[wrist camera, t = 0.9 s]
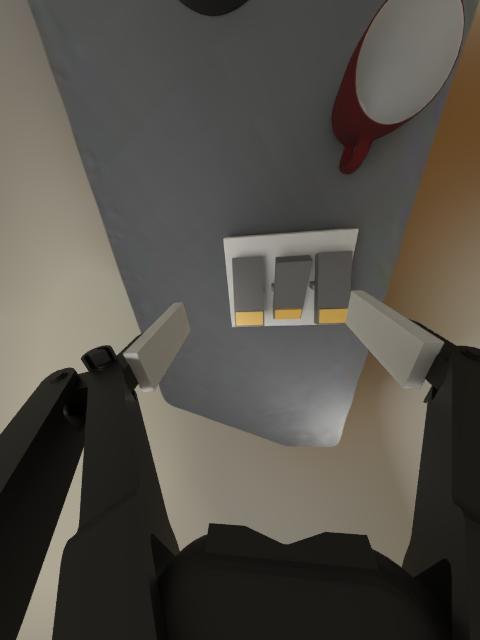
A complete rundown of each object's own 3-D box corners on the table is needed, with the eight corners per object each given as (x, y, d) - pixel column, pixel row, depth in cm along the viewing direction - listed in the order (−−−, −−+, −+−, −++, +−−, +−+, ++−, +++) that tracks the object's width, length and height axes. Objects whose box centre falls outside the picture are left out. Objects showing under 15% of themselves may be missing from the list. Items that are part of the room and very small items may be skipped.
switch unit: (227, 236, 31) (221, 239, 25) (343, 228, 29) (366, 228, 23) (234, 316, 38) (231, 333, 32) (328, 313, 36) (343, 331, 30)
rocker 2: (275, 257, 24) (276, 264, 23) (309, 254, 24) (313, 262, 22) (272, 312, 31) (273, 320, 30) (298, 311, 31) (301, 319, 29)
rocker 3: (315, 254, 26) (319, 252, 24) (346, 252, 26) (354, 250, 24) (313, 322, 28) (317, 324, 26) (343, 321, 27) (350, 324, 26)
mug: (366, 181, 27) (422, 159, 18) (310, 183, 27) (337, 161, 18) (394, 72, 22) (489, -33, 13) (324, 77, 22) (371, -22, 13)
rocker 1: (233, 259, 27) (231, 257, 26) (262, 258, 27) (262, 255, 25) (236, 324, 29) (234, 327, 27) (263, 323, 29) (264, 326, 27)
